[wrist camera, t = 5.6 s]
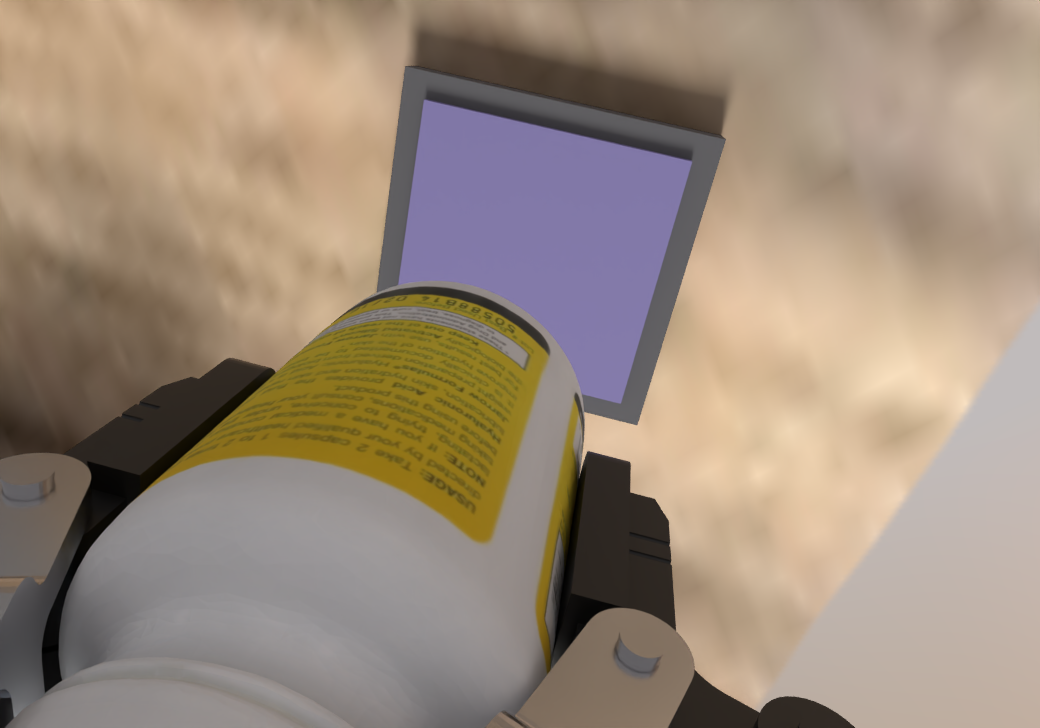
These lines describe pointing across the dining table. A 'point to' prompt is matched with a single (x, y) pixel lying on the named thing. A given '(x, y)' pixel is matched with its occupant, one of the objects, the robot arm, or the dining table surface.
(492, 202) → the ink pad
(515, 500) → the supplement bottle
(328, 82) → the dining table surface
